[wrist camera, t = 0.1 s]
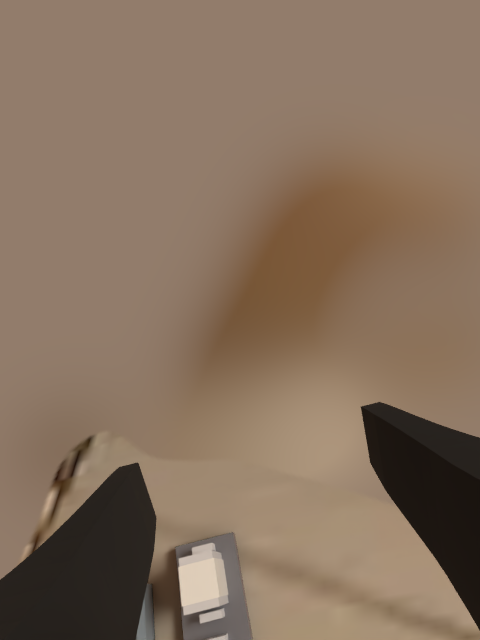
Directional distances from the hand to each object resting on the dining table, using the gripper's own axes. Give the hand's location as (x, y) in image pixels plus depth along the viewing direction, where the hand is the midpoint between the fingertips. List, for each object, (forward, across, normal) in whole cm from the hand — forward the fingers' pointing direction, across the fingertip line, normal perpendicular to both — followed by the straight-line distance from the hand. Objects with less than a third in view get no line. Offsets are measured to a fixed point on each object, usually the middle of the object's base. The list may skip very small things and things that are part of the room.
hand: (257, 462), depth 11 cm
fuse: (+19, +8, +24) cm, 32 cm away
